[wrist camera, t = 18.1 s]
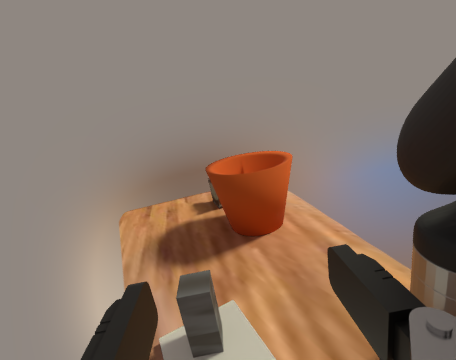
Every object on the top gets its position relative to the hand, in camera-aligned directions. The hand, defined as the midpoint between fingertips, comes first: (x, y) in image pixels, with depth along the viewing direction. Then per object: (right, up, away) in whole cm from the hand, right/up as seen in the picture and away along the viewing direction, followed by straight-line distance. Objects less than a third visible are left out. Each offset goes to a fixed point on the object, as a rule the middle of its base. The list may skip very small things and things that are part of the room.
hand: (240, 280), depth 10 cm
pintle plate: (0, -23, +21) cm, 32 cm away
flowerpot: (+9, -9, +64) cm, 65 cm away
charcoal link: (-4, -21, +27) cm, 34 cm away
